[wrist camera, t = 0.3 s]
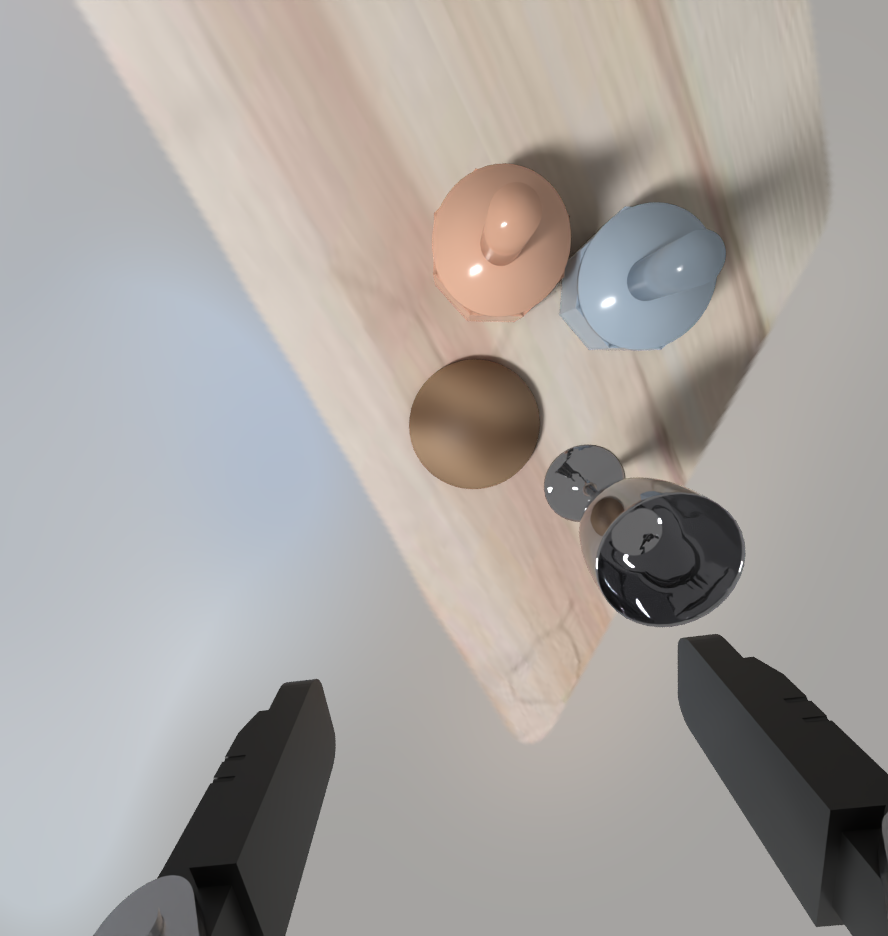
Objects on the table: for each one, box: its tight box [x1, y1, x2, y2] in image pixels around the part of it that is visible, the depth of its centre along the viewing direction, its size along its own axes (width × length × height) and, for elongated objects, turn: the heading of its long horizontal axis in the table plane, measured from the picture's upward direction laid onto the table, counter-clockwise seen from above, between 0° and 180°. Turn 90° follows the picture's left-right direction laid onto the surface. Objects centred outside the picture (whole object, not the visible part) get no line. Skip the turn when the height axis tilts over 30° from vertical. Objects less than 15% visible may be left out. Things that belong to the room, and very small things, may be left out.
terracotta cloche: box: [432, 164, 571, 322], centre depth 28 cm, size 9×9×11 cm
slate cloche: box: [559, 202, 726, 351], centre depth 28 cm, size 9×9×11 cm
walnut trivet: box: [409, 359, 540, 489], centre depth 36 cm, size 11×11×1 cm
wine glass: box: [544, 445, 745, 627], centre depth 30 cm, size 8×8×15 cm
